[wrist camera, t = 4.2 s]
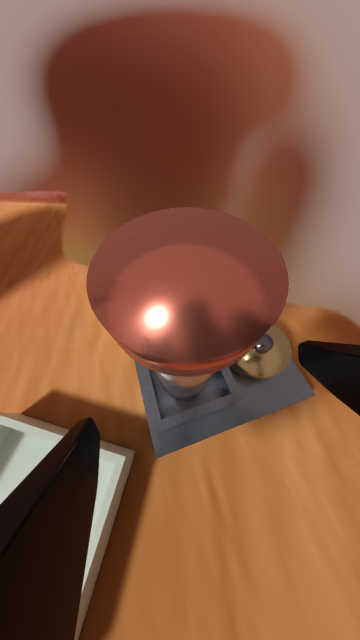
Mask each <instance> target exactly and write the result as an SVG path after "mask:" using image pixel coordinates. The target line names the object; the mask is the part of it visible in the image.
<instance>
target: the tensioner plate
mask: <svg viewBox="0 0 360 640" xmlns="http://www.w3.org/2000/svg"><path fill="white" fill-rule="evenodd" d="M135 365H136V370H137V374H138V379H139V383H140V388H141V393H142V397H143V402H144V406H145V411H146V415H147V420H148V425H149V429H150V434H151V438H152V443H153V448H154V452H155V457H156V458H158V457H161V456H163V455H166V454H168V453H171V452H173V451H176V450H179V449H181V448H184V447H186V446H189V445H191V444H194V443H196V442H199V441H201V440H204V439H206V438H209V437H211V436H214V435H216V434H219V433H221V432H224V431H226V430H229V429H231V428H234V427H236V426H239V425H241V424H244V423H246V422H249V421H251V420H254V419H256V418H259V417H261V416H264V415H266V414H269V413H271V412H274V411H276V410H279V409H281V408H284V407H286V406H289V405H291V404H294V403H296V402H299V401H301V400H304V399H306V398H309V397H311V396H314V395H315V393H314V392H313V390H312V388H311V387H310V385H309V384H308V382H307V381H306V379H305V378H304V376H303V374H302V373H301V371H300V370H299V368H298V367H297V365H296V364H295V362H294V360H293V359H292V348H291V344H290V342H289V339H288V338H287V336H286V335H285V333H284V332H283V331H282V330H281V329H280V328H279V327H277V326H276V325H275V324H273V325H272V326H271V327H270V329H269V330H268V331H267V332H266V333H265V334H264V335H263V336H262V337H261V339H260V340H259V341H258V342H257V343H256V344H255V345H254V346H253V347H252V348H251V350H250V351H249V352H248V353H247V354H246V355H245V356H244V357H242V358H241V359H240V360H238V361H237V362H236V363H234V364H232V365H230V366H229V367H227V368H225V369H222V370H220V371H217V372H214V373H213V375H212V376H211V378H210V380H209V381H208V383H207V385H206V387H205V388H204V390H203V391H202V393H201V394H200V395H198V396H197V397H195V398H193V399H190V400H179V399H176V398H174V397H173V396H171V395H170V394H169V393H168V392H167V390H166V389H165V387H164V385H163V383H162V381H161V380H160V378H159V376H158V374H157V372H156V371H153V370H151V369H149V368H147V367H145V366H143V365H141V364H139V363H138V362H137V361H135Z"/></svg>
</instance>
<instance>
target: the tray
mask: <svg viewBox="0 0 360 640" xmlns="http://www.w3.org/2000/svg"><path fill="white" fill-rule="evenodd" d="M68 431H69V429H66V428H63V427H60V426H57V425H54V424H51V423H48V422H45V421H42V420H38V419H35V418H32V417H29V416H26V415H23V414H19V413H1V412H0V504H1V503H2V502H3V501H4V500H5V499H6V498H7V497H8V495H9V494H10V493H11V492H12V491H13V490H14V489H15V488H16V487H17V486H18V485H19V484H20V483H21V482H22V480H23V479H24V478H25V477H26V476H27V475H28V474H29V473H30V472H31V471H32V470H33V469H34V468H35V467H36V466H37V464H38V463H39V462H40V461H41V460H42V459H43V458H44V457H45V456H46V455H47V454H48V453H49V452H50V451H51V450H52V448H53V447H54V446H55V445H56V444H57V443H58V442H59V441H60V440H61V439H62V438H63V437H64V436H65V435H66V434H67V432H68ZM135 452H136V451H134V450H131V449H128V448H125V447H122V446H119V445H116V444H113V443H109V442H106V441H103V440H100V457H99V475H98V487H97V495H96V501H95V508H94V514H93V521H92V527H91V534H90V541H89V547H88V554H87V560H86V567H85V574H84V580H83V587H82V593H81V600H80V607H79V613H78V620H77V626H76V633H75V639H74V640H79V636H80V633H81V630H82V626H83V623H84V620H85V617H86V613H87V610H88V607H89V603H90V600H91V597H92V594H93V590H94V587H95V584H96V580H97V577H98V574H99V570H100V567H101V564H102V561H103V557H104V554H105V551H106V547H107V544H108V541H109V538H110V534H111V531H112V528H113V524H114V521H115V518H116V515H117V511H118V508H119V505H120V501H121V498H122V495H123V492H124V488H125V485H126V482H127V478H128V475H129V472H130V469H131V465H132V462H133V459H134V455H135Z"/></svg>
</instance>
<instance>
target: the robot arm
mask: <svg viewBox="0 0 360 640" xmlns="http://www.w3.org/2000/svg"><path fill="white" fill-rule="evenodd" d="M298 355H299V362H300V364H301V365H302V366H303V367H304V368H305V369H306V370H307V371H308V372H309V373H310V374H311V375H312V376H314V377H315V378H316V379H317V380H318V381H319V382H320V383H321V384H322V385H323V386H324V387H325V388H326V389H327V390H329V391H330V392H331V393H332V394H333V395H334V396H336V397H337V398H338V399H339V400H341V401H342V402H343V403H344V404H346V405H347V406H348V407H349V408H351V409H352V410H353V411H354V412H356V413H357V414H358V415H359V416H360V345H352V344H341V343H331V342H320V341H305V342H302V343H300V344H299V345H298ZM99 457H100V433H99V431H98V429H97V426H96V424H95V422H94V420H93V419H92V418H91V417H87V418H84V419H81V420H79V421H78V422H77V423H76V424H75V425H74V426H73V427H72V428H71V429H70V430H69V431H68V432H67V434H66V435H65V436H64V437H63V438H62V439H61V440H60V441H59V442H58V443H57V444H56V445H55V446H54V447H53V448H52V450H51V451H50V452H49V453H48V454H47V455H46V456H45V457H44V458H43V459H42V460H41V461H40V462H39V463H38V464H37V466H36V467H35V468H34V469H33V470H32V471H31V472H30V473H29V474H28V475H27V476H26V477H25V478H24V479H23V480H22V482H21V483H20V484H19V485H18V486H17V487H16V488H15V489H14V490H13V491H12V492H11V493H10V494H9V495H8V497H7V498H6V499H5V500H4V501H3V502H2V503H1V504H0V640H74V639H75V633H76V626H77V620H78V613H79V607H80V600H81V593H82V587H83V580H84V574H85V567H86V560H87V554H88V547H89V541H90V534H91V527H92V521H93V514H94V508H95V501H96V495H97V487H98V475H99Z"/></svg>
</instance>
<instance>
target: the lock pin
mask: <svg viewBox="0 0 360 640" xmlns="http://www.w3.org/2000/svg"><path fill="white" fill-rule="evenodd" d="M288 283H289V282H288V273H287V269H286V266H285V263H284V260H283V258H282V256H281V254H280V252H279V251H278V249H277V248H276V246H275V245H274V244H273V243H272V242H271V240H270V239H269V238H268V237H267V236H266V235H264V234H263V233H262V232H261V231H260V230H258V229H257V228H255V227H254V226H253V225H251V224H249V223H247V222H246V221H244V220H242V219H239V218H237V217H235V216H233V215H230V214H227V213H223V212H219V211H215V210H210V209H204V208H172V209H164V210H160V211H155V212H152V213H148V214H145V215H143V216H140V217H138V218H135V219H133V220H131V221H129V222H128V223H126V224H124V225H122V226H121V227H119V228H118V229H117V230H115V231H114V232H113V233H112V234H110V235H109V236H108V237H107V239H106V240H105V241H103V243H102V244H101V245H100V247H99V248H98V249H97V251H96V253H95V254H94V256H93V258H92V260H91V263H90V266H89V269H88V274H87V294H88V299H89V302H90V305H91V308H92V310H93V311H94V313H95V315H96V317H97V319H98V320H99V321H100V322H101V324H102V325H103V326H104V327H105V329H106V330H107V331H108V332H109V334H110V335H111V336H112V337H113V338H114V340H115V341H116V342H117V343H118V344H119V346H120V347H121V348H122V349H123V350H124V351H125V352H126V353H127V354H128V355H129V356H130V357H131V358H132V359H134V360H135V361H137V362H138V363H139V364H141V365H143V366H145V367H147V368H149V369H151V370H153V371H156V372H157V374H158V376H159V378H160V380H161V381H162V383H163V385H164V387H165V389H166V390H167V392H168V393H169V394H170V395H171V396H173V397H174V398H176V399H179V400H190V399H193V398H195V397H197V396H198V395H200V394H201V393H202V391H203V390H204V388H205V387H206V385H207V383H208V381H209V380H210V378H211V376H212V375H213V373H214V372H217V371H220V370H222V369H225V368H227V367H229V366H230V365H232V364H234V363H236V362H237V361H238V360H240V359H241V358H242V357H244V356H245V355H246V354H247V353H248V352H249V351H250V350H251V348H252V347H253V346H254V345H255V344H256V343H257V342H258V341H259V340H260V339H261V337H262V336H263V335H264V334H265V333H266V332H267V331H268V330H269V329H270V327H271V326H272V325H273V324H274V323H275V321H276V320H277V318H278V317H279V315H280V314H281V312H282V309H283V307H284V305H285V302H286V298H287V294H288Z"/></svg>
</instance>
